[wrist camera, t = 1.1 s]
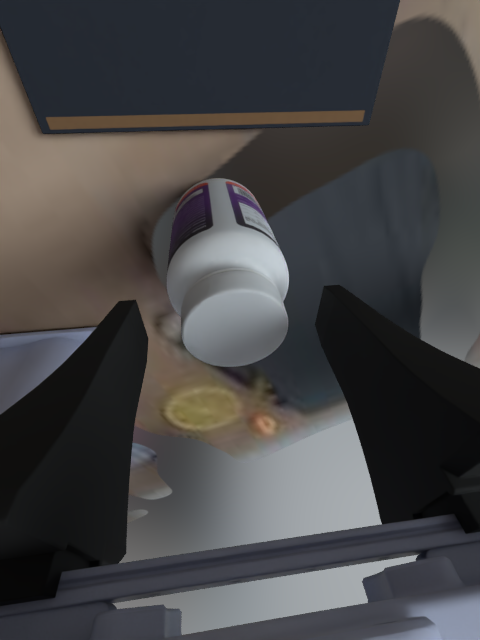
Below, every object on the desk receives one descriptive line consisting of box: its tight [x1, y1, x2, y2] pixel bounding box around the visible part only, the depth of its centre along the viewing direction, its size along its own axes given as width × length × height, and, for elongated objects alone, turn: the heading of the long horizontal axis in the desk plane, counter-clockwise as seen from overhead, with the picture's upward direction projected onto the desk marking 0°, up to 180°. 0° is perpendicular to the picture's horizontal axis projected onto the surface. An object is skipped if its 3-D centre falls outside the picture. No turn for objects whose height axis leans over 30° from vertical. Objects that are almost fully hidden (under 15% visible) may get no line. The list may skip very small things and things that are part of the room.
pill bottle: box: [167, 178, 289, 367], centre depth 14 cm, size 5×5×10 cm
